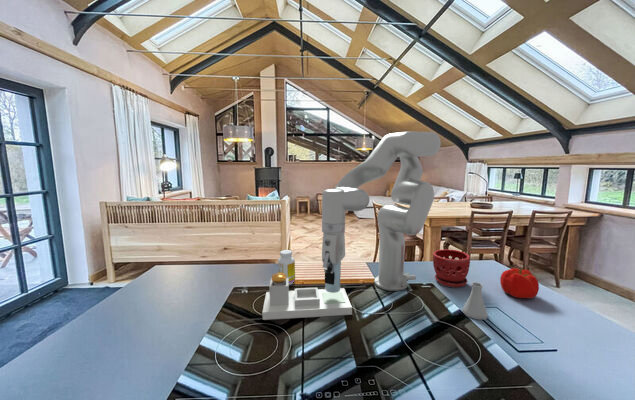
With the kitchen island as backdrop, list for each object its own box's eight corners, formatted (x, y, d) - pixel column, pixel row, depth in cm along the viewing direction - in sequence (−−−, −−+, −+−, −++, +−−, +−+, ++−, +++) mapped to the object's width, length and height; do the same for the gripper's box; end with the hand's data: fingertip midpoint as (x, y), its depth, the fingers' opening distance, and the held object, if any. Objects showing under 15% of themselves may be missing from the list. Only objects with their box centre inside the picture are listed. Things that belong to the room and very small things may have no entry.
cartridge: (342, 287, 91) (343, 250, 89) (337, 293, 87) (338, 255, 85) (328, 284, 93) (328, 248, 91) (322, 290, 89) (322, 253, 87)
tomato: (521, 304, 90) (524, 279, 89) (491, 288, 102) (493, 265, 101) (546, 301, 92) (550, 276, 91) (514, 285, 104) (517, 263, 103)
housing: (344, 294, 98) (344, 271, 96) (351, 314, 85) (352, 287, 84) (266, 298, 95) (265, 274, 94) (262, 319, 82) (261, 292, 81)
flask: (484, 310, 87) (487, 281, 86) (490, 322, 80) (493, 291, 79) (459, 306, 90) (462, 277, 88) (463, 318, 83) (466, 287, 81)
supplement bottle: (296, 278, 111) (296, 249, 109) (293, 286, 104) (292, 254, 103) (280, 278, 112) (280, 248, 110) (276, 285, 105) (275, 254, 103)
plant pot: (448, 273, 116) (450, 246, 114) (475, 286, 103) (478, 257, 102) (424, 278, 111) (426, 250, 109) (450, 292, 99) (452, 261, 97)
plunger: (287, 295, 91) (286, 272, 90) (286, 302, 87) (286, 278, 85) (272, 295, 91) (272, 273, 90) (271, 303, 86) (271, 279, 85)
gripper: (334, 234, 78) (334, 293, 80) (352, 223, 93) (351, 272, 96) (311, 231, 81) (311, 288, 83) (332, 221, 96) (331, 269, 99)
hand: (332, 279), depth 89 cm, fingers closed on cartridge, 5 cm apart
